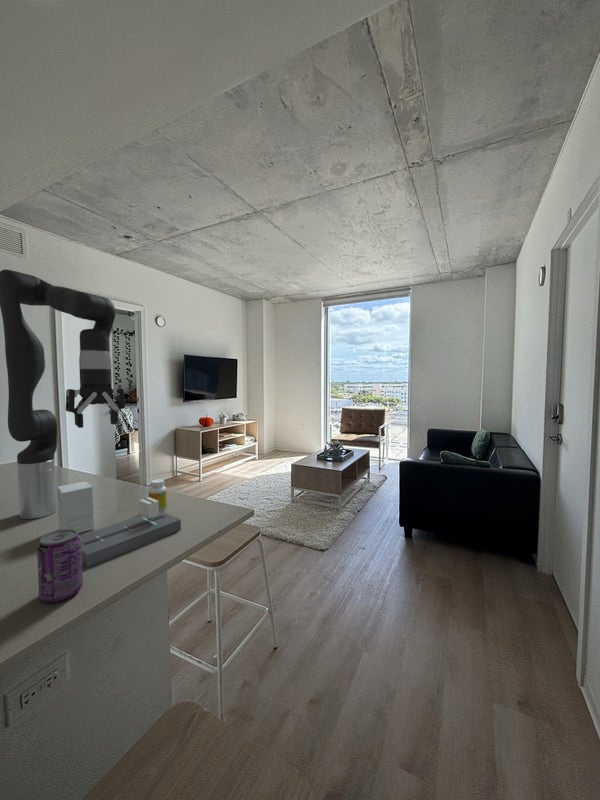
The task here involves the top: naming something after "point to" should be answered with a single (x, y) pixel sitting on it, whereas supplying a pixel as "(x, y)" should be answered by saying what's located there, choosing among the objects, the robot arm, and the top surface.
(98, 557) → the console
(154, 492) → the supplement bottle
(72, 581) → the beverage can
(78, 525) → the supplement box
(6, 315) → the robot arm
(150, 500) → the fader knob
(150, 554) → the top surface
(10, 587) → the top surface
